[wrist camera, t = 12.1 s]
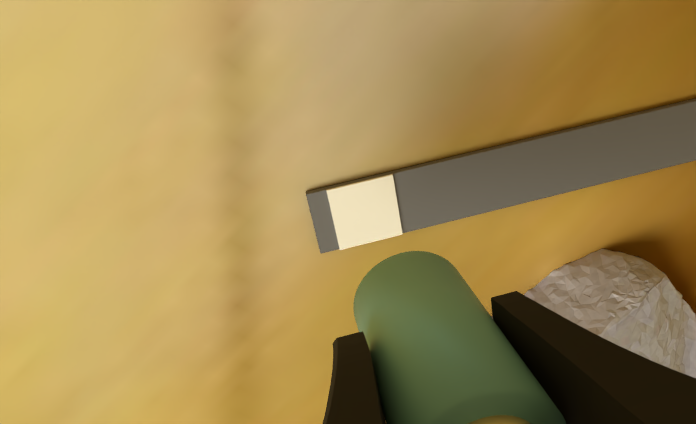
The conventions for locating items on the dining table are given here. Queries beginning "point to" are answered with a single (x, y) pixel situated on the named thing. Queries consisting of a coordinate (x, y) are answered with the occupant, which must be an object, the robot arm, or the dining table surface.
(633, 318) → the stone block
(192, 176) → the dining table surface
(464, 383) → the teal cylinder cream end
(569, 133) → the bar
